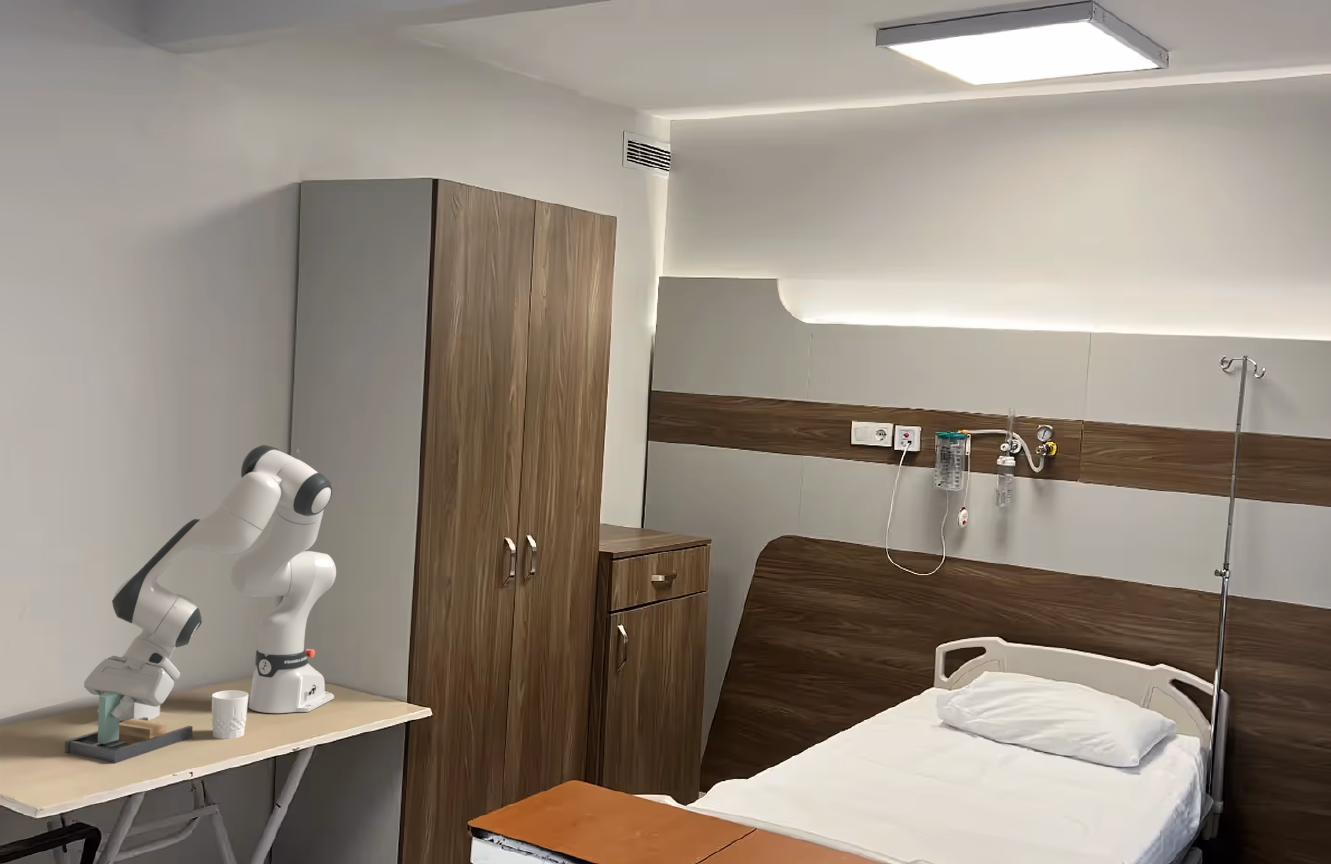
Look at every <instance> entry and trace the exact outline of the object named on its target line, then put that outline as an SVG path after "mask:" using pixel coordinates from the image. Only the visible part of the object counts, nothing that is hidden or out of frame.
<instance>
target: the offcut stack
mask: <svg viewBox="0 0 1331 864" xmlns="http://www.w3.org/2000/svg"><path fill="white" fill-rule="evenodd" d="M166 730H167V723H165V722H158V721H153V720H148V721H146V720H139V719H130V720H127V721H121V722H119V739H118V740H115V742H122V741H125V742H127V744H129V745H131V744H134V743H137V742H140V741H143V740H146V739H149V738H153V737H156V736H159V735H162V734H165V733H168V731H166Z"/></svg>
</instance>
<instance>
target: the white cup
mask: <svg viewBox="0 0 1331 864" xmlns="http://www.w3.org/2000/svg"><path fill="white" fill-rule="evenodd" d="M248 697H249V693H248V692H247V691H244V690H237V689H235V690H233V689H231V690H221V691H217V692H214V693H212V694H211V723H212V724H211V727H212V737H213V738H216V739H220V740H221V739H222V740H224V739H225V740H230V739H238V738H241V737H243V736H244V735H245V731H246V730H245V729H246V728H245V727H246V723H247V715H248V706H249V703H248Z"/></svg>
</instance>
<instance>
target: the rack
mask: <svg viewBox="0 0 1331 864" xmlns="http://www.w3.org/2000/svg"><path fill="white" fill-rule="evenodd" d="M139 720H146V721H149V720H148V718H147V717H143V718H140V719H139ZM167 732H168V731H167ZM192 738H193V726H192V725H187V726H184V727H181V728H177V729H175V730H172V731H169V732H168V733H165V734H162V735H159V736H156V737H153V738H149V739H146V740H143V741H140V742H137V743H134V744H131V745H129V744H127V742H125V741H122V742H115V741H112V742H109V743H106V744H102V743H98V730H97V731H94V732H91V733H87V734H84V735H80V736H77V737H73V738H70V739H67V740H65V742H64V753H65V754H68V755H69V754H70V755H74V756H78V757H84V758H88V759H92V760H97V761H102V762H107V763H112V764H117V763H121V762H124V761H127V760H130V759H132V758H136V757H138V756H141V755H145V754H147V753H150V752H154V751H156V750H159V749H163V748H165V747H168V746H171V745H174V744H177V743H180V742H183V741H186V740H188V739H192Z"/></svg>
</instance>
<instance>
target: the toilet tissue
mask: <svg viewBox="0 0 1331 864" xmlns="http://www.w3.org/2000/svg"><path fill="white" fill-rule="evenodd" d="M121 702H122V700H120V703H121ZM160 715H161V705H159V706H157V707H154V706H149V705H144V704H139V703H133V705H132V706H131V707H130V708H128V709H127V710H125V711H124V712H122V713H121V715H120V721H121V722H124V721H127V720H130V719H140V718H143V717H147V718H148V721H151V720H152V719H156V718H157V717H159V716H160Z"/></svg>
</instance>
